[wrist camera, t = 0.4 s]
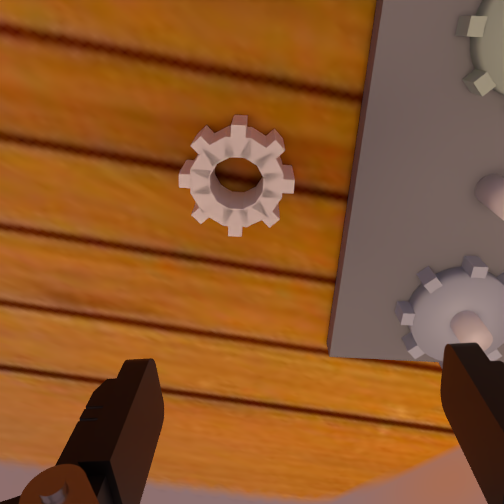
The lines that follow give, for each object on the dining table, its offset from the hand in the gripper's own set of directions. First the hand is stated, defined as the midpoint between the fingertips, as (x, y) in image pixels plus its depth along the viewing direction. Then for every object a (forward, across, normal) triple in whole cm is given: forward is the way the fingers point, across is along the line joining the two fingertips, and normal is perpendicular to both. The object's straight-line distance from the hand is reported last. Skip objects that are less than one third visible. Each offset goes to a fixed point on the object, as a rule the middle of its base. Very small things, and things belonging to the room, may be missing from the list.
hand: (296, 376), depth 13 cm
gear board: (+18, -12, 0) cm, 22 cm away
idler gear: (+18, +3, -2) cm, 18 cm away
